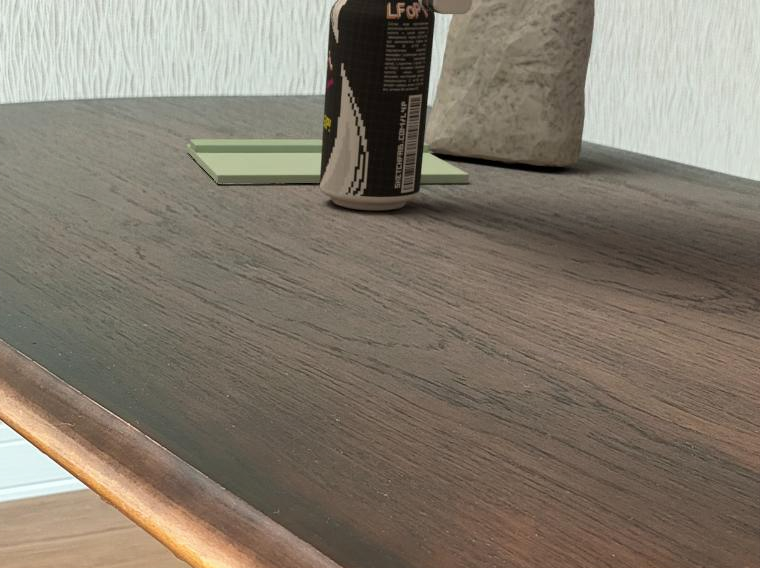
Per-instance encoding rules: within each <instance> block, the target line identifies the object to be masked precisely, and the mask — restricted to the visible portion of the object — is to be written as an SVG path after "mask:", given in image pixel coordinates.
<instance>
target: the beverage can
mask: <svg viewBox="0 0 760 568" xmlns="http://www.w3.org/2000/svg"><path fill="white" fill-rule="evenodd" d="M418 1H419V0H336V1H335V2H334V4H333V5H332V6H331V9H330V13H329V24H328V42H327V54H326V55H327V57H326V58H327V60H326V71H325V72H326V73H325V75H326V76H325V89H324V90H325V91H324V105H323V106H324V107H323V124H322V139H321V140H322V155H321V171H320V184H319V189H320V192H321V193H322V194H324V195H325V196H327V197H329V198H330V199H331V201H332V203H333V204H335V205H337V206H340V207H342V208H347V209H352V210H358V211H372V212H373V211H378V212H379V211H381V212H383V211H391V210H393V211H394V210H398V209H401V208H403V207H404V206H405V205H406V204H407V203H408V202H410V201H412V200H414V199H416V198H417V197H418V196H419V195H420V191H421V184H420V182H421V170H422V159H423V148H424V141H425V133H426V126H427V124H426V123H427V114H428V113H427V111H428V101H429V91H430V79H431V69H432V57H433V56H432V55H433V48H434V47H433V46H434V33H435V22H436V14H435V12H432V11H426V10H424V9H422V8H421V7H420V5H419V2H418Z"/></svg>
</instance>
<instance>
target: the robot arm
mask: <svg viewBox="0 0 760 568" xmlns="http://www.w3.org/2000/svg"><path fill="white" fill-rule="evenodd" d="M418 2H419V5H420V7H421V8H422V9H424V10H426V11H432V12H434V13H436V14H440V15H453V14H464V13H467V12H468V11H469V10H470V8H471V5H472V0H419V1H418Z"/></svg>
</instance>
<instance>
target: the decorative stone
mask: <svg viewBox="0 0 760 568" xmlns="http://www.w3.org/2000/svg"><path fill="white" fill-rule="evenodd" d="M595 1H596V0H472V5H471V8H470V10H469V11H468V12H467V13H464V14H451V15H452V16H451V18H450V22H449V25H448V31H447V35H446V41H445V47H444V54H443V58H442V65H441V69H440V74H439V78H438V81H437V84H436V90H435V91H436V92H435V96H434V99H433V102H432V107H431V110H430V113H429V117H428V121H427V124H426V127H425V137H424V143H426V144H428V145H429V152H433V153H435V154H440V155H447V156H453V157H465V158H473V159H483V160H489V161H492V162H493V161H494V162H502V163H504V164H507V165H509V164H510V165H511V164H512V165H515V164H525V165H526V164H527V165H530V166H538V167H539V166H540V167H550V168H557V167H558V168H562V167H563V168H564V167H567V168H568V167H571V166H574V165H575V164H576V163H577V162H578V160H579V158H580V156H581V153H582V147H583V146H582V145H583V144H582V143H583V135H584V125H585V116H586V106H585V105H586V90H585V89H586V82H587V75H588V69H589V64H590V59H591V58H590V57H591V51H592V45H593V36H594V30H595V15H596V9H595V6H596V5H595V4H596V3H595Z"/></svg>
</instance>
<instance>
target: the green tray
mask: <svg viewBox="0 0 760 568" xmlns="http://www.w3.org/2000/svg"><path fill="white" fill-rule="evenodd" d="M187 152H188V153H189V154H190V155H191V156H192V157H193V158H194V159H195V160H196V161H197V163H198V164H199V165H200V166H201V167H202V168H203V169H204V170H205V171H206V172H207V173H208V174H209V175H210V176H211V177H212V178H213V179H214V180H213V179H212V178H211V177H210V176H209V175H208V174H207V173H206V172H205V171H204V170H203V169H202V168H201V167H200V166H199V165H198V164H197V163H196V164H197V165H198V166H199V167H200V168H201V169H202V170H203V171H204V172H205V173H206V174H207V175H208V176H209V177H210V178H211V179H212V180H213V182H215V181H216V182H215V183H216V184H217V183H317V184H316V185H319V184H318V183H320V171H321V155H322V139H252V138H251V139H249V138H248V139H243V138H242V139H240V138H239V139H235V138H234V139H228V138H227V139H224V138H223V139H222V138H221V139H219V138H218V139H216V138H215V139H213V138H212V139H204V138H203V139H202V138H201V139H198V138H197V139H193V138H192V139H189V143H187V144H186V153H187ZM188 153H187V154H188ZM189 154H188V155H189ZM190 155H189V156H190ZM191 156H190V157H191ZM192 157H191V158H192ZM193 158H192V159H193ZM469 177H470V174H469V173H468V172H466V171H464V170H462V169H461V168H458V167H456V166H455V165H453V164H451V163H449V162H448V161H445V160H443V159H441V158H439V157H437V156H436V155H434V154H432V153H430V151H429V145H428V144H426V143H424V148H423V159H422V170H421V182H420V185H421V184H423V185H426V184H433V185H435V184H439V185H441V184H468V183H469Z"/></svg>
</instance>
